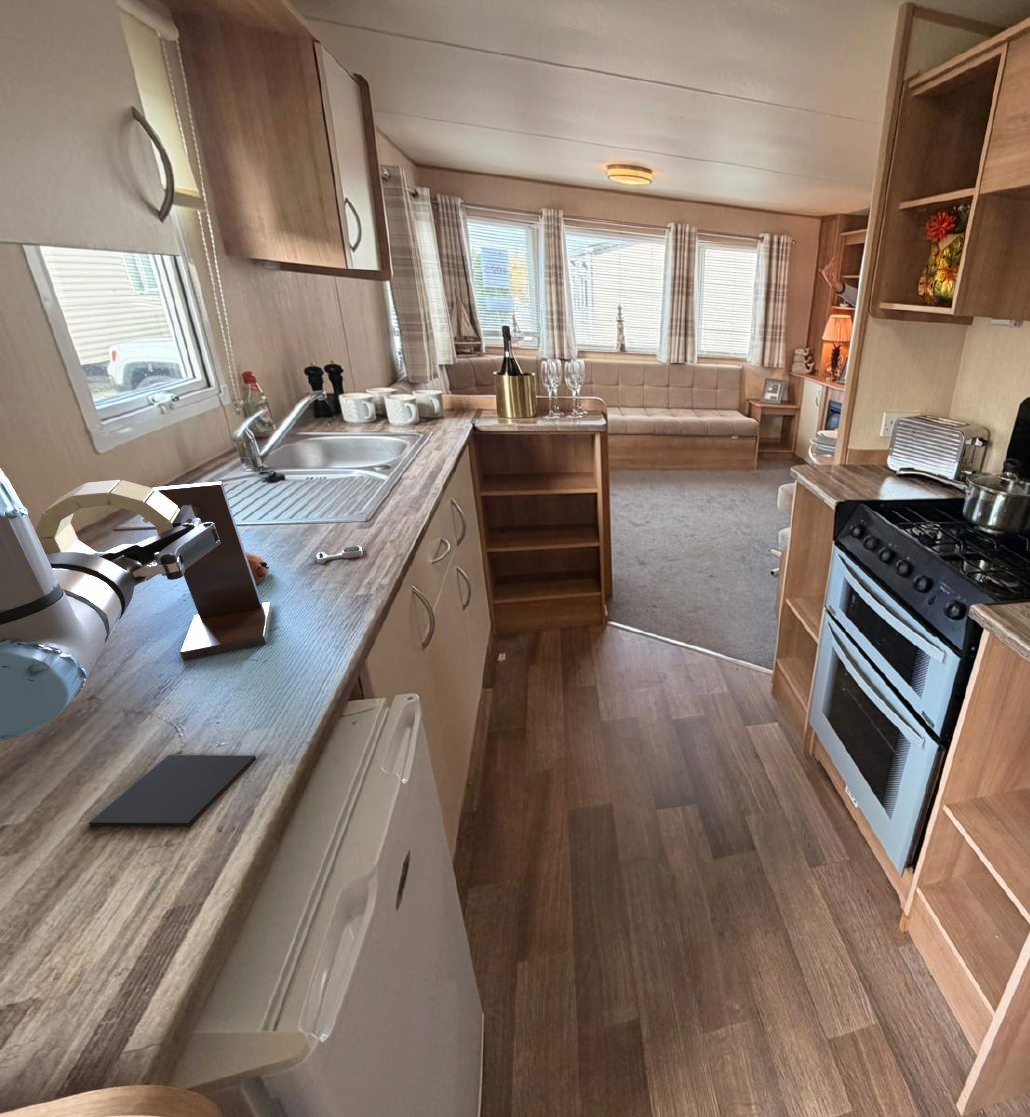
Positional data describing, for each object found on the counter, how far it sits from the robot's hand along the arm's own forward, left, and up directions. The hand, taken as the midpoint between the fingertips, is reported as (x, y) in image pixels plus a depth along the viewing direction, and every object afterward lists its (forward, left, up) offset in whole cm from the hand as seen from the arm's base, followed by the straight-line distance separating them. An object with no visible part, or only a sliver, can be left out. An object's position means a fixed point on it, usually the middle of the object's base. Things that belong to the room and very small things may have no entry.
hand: (127, 523), depth 68 cm
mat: (+8, -14, -27) cm, 31 cm away
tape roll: (+2, -4, -5) cm, 6 cm away
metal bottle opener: (-10, +50, -27) cm, 58 cm away
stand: (-10, +19, -27) cm, 35 cm away
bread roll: (-22, +37, -27) cm, 52 cm away
